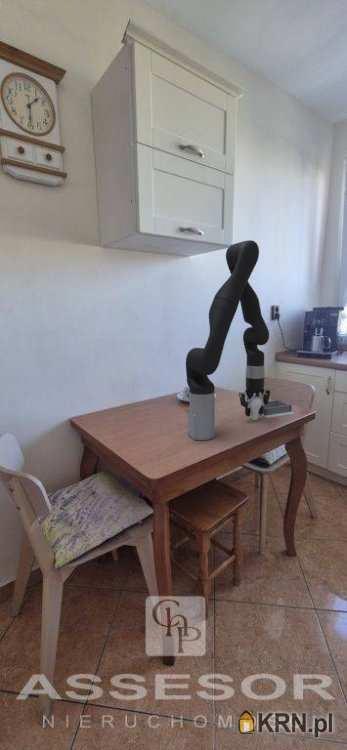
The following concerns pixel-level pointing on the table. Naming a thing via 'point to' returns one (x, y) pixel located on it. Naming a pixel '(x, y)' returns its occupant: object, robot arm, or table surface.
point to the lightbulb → (255, 407)
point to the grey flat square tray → (277, 409)
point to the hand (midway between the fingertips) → (254, 414)
